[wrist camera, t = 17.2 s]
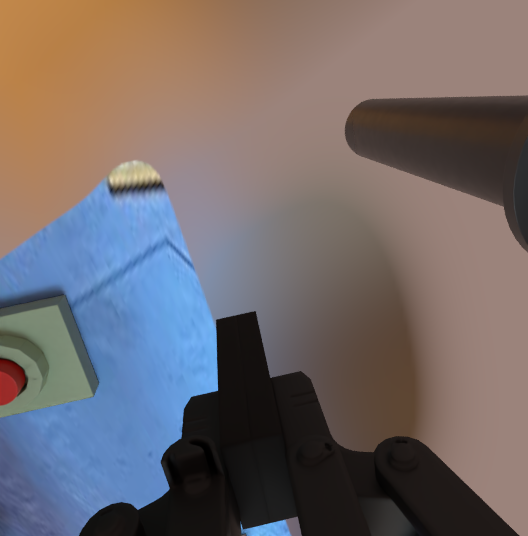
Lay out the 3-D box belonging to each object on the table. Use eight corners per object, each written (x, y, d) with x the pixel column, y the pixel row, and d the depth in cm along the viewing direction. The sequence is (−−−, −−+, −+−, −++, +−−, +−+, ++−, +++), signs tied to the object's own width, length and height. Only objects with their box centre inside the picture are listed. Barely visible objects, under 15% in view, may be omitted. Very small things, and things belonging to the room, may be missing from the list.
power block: (64, 294, 41) (50, 313, 37) (99, 383, 44) (89, 409, 41) (-67, 322, 40) (-95, 344, 36) (-21, 410, 44) (-43, 438, 40)
